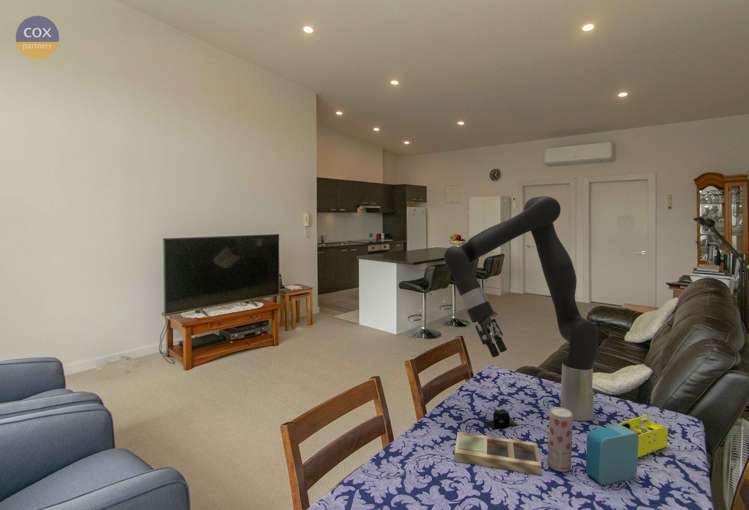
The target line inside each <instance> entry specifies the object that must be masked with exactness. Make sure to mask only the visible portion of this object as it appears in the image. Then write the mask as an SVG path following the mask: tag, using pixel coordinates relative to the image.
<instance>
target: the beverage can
mask: <svg viewBox="0 0 749 510" xmlns="http://www.w3.org/2000/svg"><path fill="white" fill-rule="evenodd" d="M573 421H574V420H573V417H572V413H571V412H570V411H569V410H567V409H564V408H560V407H559V406H557V407H555V406H554V407H552V408H550V409H549V415H548V440H547V441H548V442H547V465H548V466H549V467H550V469H553V470H554V471H557V472H560V473H566V472H569V471H570V470H571V469H572V453H573V452H572V448H573Z"/></svg>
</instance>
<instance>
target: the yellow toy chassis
mask: <svg viewBox="0 0 749 510" xmlns="http://www.w3.org/2000/svg"><path fill="white" fill-rule="evenodd" d="M651 420H652V418H651V417H650V416H649V415H648V414H645V415H641V416H638V417H636V418H635V417H634V418H632V419H629V420H626V421H622V422H620V423H618V425H622V426H624V427H626V428H628V429H629V430H631V431H633V432H635V433H636V434H637V435H638V437H639V442H638V458H640V457H643V456H645V455H647V456H649V455H650V454H651V453H656V451H658V450H660V449H663V448H665V447H668V437H669V436H668V434H669V429H668V428H667V427H666V426H662V425H660V424H658V423H655V422H652V421H651Z"/></svg>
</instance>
